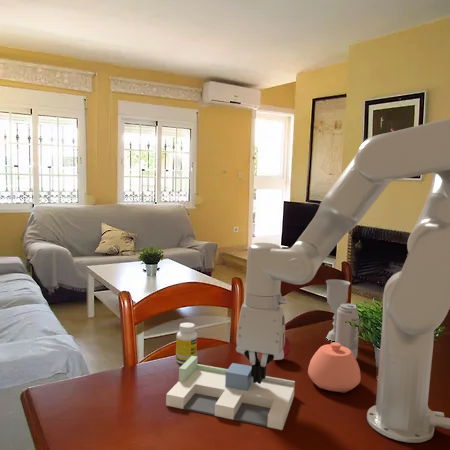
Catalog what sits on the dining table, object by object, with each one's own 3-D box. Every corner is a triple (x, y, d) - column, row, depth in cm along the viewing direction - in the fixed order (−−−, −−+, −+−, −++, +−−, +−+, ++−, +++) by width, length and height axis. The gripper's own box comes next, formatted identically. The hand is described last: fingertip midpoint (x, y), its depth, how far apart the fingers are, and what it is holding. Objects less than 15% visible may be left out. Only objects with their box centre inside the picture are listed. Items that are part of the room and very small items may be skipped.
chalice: (322, 341, 132) (326, 283, 130) (321, 334, 139) (325, 278, 137) (347, 344, 131) (351, 285, 129) (345, 336, 138) (349, 280, 135)
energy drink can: (341, 352, 125) (344, 301, 123) (360, 359, 120) (364, 306, 119) (330, 358, 120) (333, 305, 119) (350, 365, 116) (353, 310, 114)
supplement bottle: (193, 366, 112) (194, 329, 111) (173, 363, 113) (173, 327, 112) (198, 357, 118) (199, 322, 116) (179, 355, 119) (180, 320, 118)
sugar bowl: (303, 390, 101) (305, 348, 100) (312, 366, 114) (315, 329, 113) (358, 401, 97) (361, 357, 96) (361, 375, 110) (364, 336, 109)
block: (252, 381, 100) (253, 366, 99) (247, 391, 95) (247, 375, 95) (231, 377, 101) (232, 362, 101) (225, 386, 96) (225, 371, 96)
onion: (293, 359, 119) (294, 330, 118) (284, 366, 114) (285, 336, 113) (274, 353, 122) (275, 326, 121) (264, 360, 117) (265, 332, 116)
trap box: (294, 395, 99) (295, 372, 98) (282, 430, 85) (283, 403, 84) (191, 376, 106) (192, 355, 106) (166, 405, 93) (166, 380, 92)
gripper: (299, 300, 96) (294, 379, 98) (234, 291, 100) (231, 367, 102) (294, 309, 89) (288, 395, 91) (224, 300, 93) (220, 381, 95)
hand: (258, 380), depth 97 cm, fingers closed
